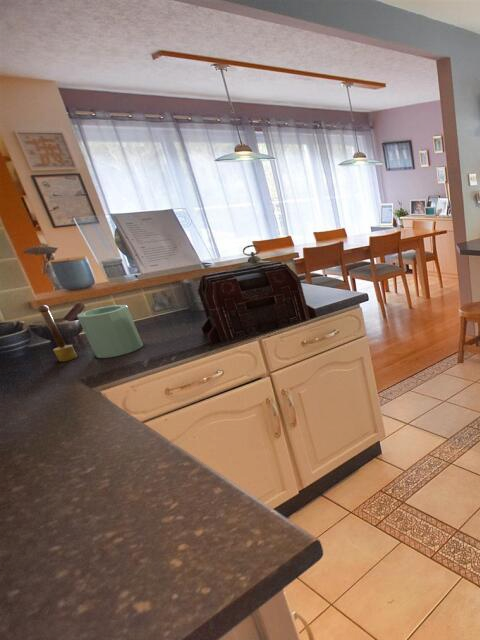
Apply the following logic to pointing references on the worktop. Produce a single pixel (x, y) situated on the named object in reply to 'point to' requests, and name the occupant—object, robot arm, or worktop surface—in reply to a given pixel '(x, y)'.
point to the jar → (110, 331)
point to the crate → (251, 301)
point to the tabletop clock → (253, 259)
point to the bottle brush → (57, 337)
